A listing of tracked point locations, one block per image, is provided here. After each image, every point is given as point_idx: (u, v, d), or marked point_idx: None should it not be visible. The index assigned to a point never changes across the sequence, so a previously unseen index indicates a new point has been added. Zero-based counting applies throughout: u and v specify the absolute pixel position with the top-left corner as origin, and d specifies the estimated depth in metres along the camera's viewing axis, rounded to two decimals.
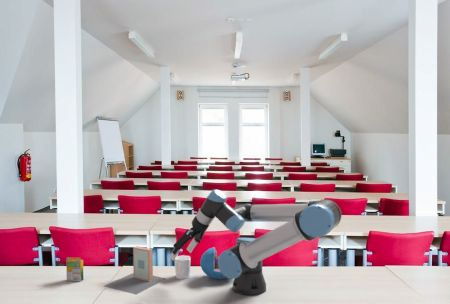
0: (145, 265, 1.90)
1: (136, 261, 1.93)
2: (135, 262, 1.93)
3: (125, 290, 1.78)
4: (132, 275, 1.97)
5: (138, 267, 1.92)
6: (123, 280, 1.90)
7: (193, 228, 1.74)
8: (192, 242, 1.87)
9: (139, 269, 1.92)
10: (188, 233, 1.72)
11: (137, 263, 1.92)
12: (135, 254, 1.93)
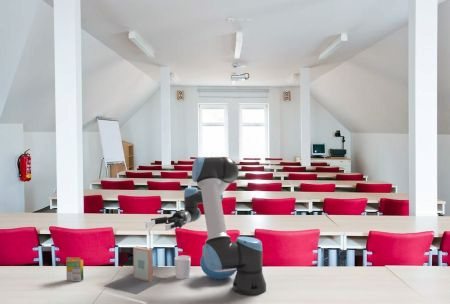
0: (145, 265, 1.90)
1: (136, 261, 1.93)
2: (135, 262, 1.93)
3: (125, 290, 1.78)
4: (132, 275, 1.97)
5: (138, 267, 1.92)
6: (123, 280, 1.90)
7: None
8: None
9: (139, 269, 1.92)
10: None
11: (137, 263, 1.92)
12: (135, 254, 1.93)
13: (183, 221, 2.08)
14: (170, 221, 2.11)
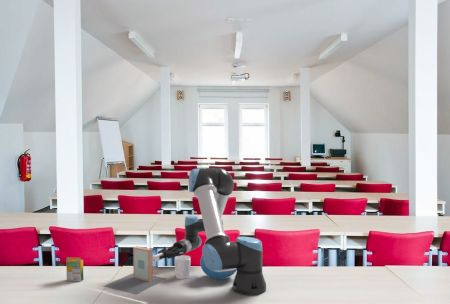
0: (145, 265, 1.90)
1: (136, 261, 1.93)
2: (135, 262, 1.93)
3: (125, 290, 1.78)
4: (132, 275, 1.97)
5: (138, 267, 1.92)
6: (123, 280, 1.90)
7: None
8: None
9: (139, 269, 1.92)
10: None
11: (137, 263, 1.92)
12: (135, 254, 1.93)
13: (178, 252, 2.09)
14: None
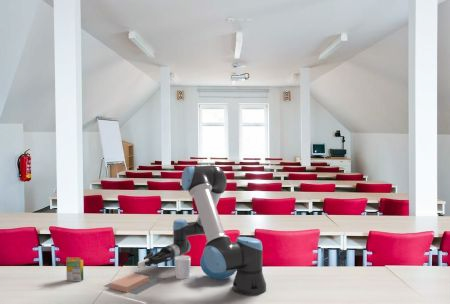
0: None
1: None
2: None
3: None
4: None
5: None
6: None
7: None
8: None
9: None
10: None
11: None
12: None
13: (165, 258, 1.99)
14: None
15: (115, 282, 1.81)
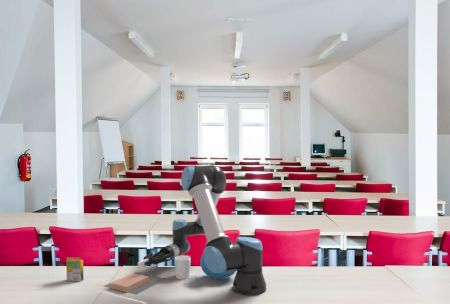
0: None
1: None
2: None
3: None
4: None
5: None
6: None
7: None
8: None
9: None
10: (150, 254, 2.06)
11: None
12: None
13: (164, 258, 1.99)
14: None
15: (115, 282, 1.81)
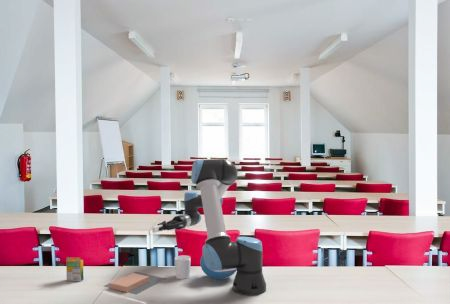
0: None
1: None
2: None
3: None
4: None
5: None
6: None
7: None
8: None
9: None
10: None
11: None
12: None
13: (177, 224, 2.09)
14: None
15: (115, 282, 1.81)
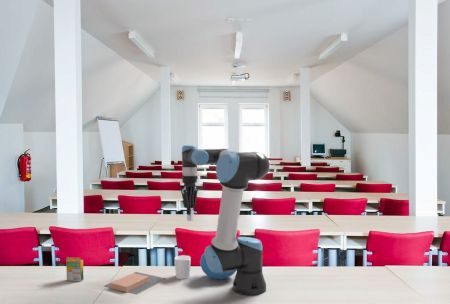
0: None
1: None
2: None
3: None
4: None
5: None
6: None
7: (185, 183, 2.02)
8: None
9: None
10: (183, 192, 2.00)
11: None
12: None
13: None
14: None
15: (115, 282, 1.81)
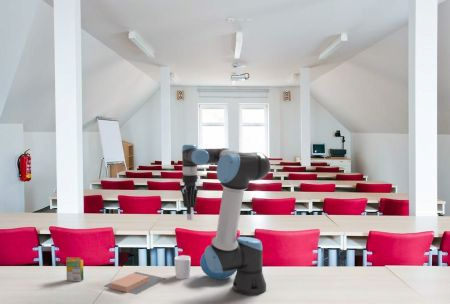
0: None
1: None
2: None
3: None
4: None
5: None
6: None
7: (185, 183, 2.02)
8: None
9: None
10: (183, 191, 2.00)
11: None
12: None
13: None
14: None
15: (115, 282, 1.81)
